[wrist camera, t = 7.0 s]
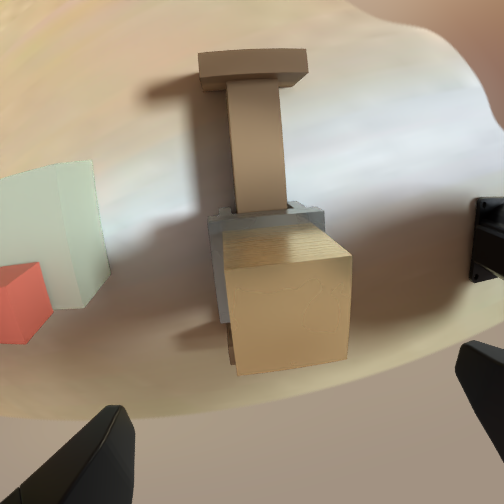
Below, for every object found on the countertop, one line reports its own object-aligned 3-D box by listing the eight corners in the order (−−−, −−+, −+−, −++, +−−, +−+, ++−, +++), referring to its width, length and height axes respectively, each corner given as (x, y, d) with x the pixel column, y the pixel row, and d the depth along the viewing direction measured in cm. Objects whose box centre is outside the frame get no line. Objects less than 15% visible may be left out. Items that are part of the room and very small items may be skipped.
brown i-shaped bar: (201, 71, 15) (197, 53, 12) (290, 66, 16) (305, 48, 12) (228, 332, 20) (230, 364, 17) (304, 323, 20) (318, 353, 17)
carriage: (209, 209, 17) (201, 255, 9) (305, 200, 17) (369, 238, 10) (219, 295, 19) (222, 387, 11) (308, 284, 19) (360, 366, 11)
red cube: (39, 261, 13) (5, 286, 10) (53, 312, 13) (26, 344, 11) (1, 266, 12) (-33, 289, 10) (16, 313, 13) (-13, 342, 10)
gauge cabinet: (92, 159, 16) (55, 163, 12) (111, 274, 18) (84, 308, 14) (9, 180, 16) (-35, 190, 11) (30, 282, 18) (-6, 311, 13)
